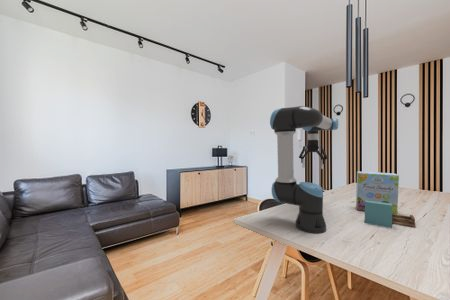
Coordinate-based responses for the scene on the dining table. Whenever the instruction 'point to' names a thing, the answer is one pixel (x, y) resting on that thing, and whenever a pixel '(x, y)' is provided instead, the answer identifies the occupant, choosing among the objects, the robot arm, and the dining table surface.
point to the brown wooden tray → (403, 220)
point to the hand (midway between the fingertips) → (312, 168)
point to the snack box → (377, 189)
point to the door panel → (378, 213)
